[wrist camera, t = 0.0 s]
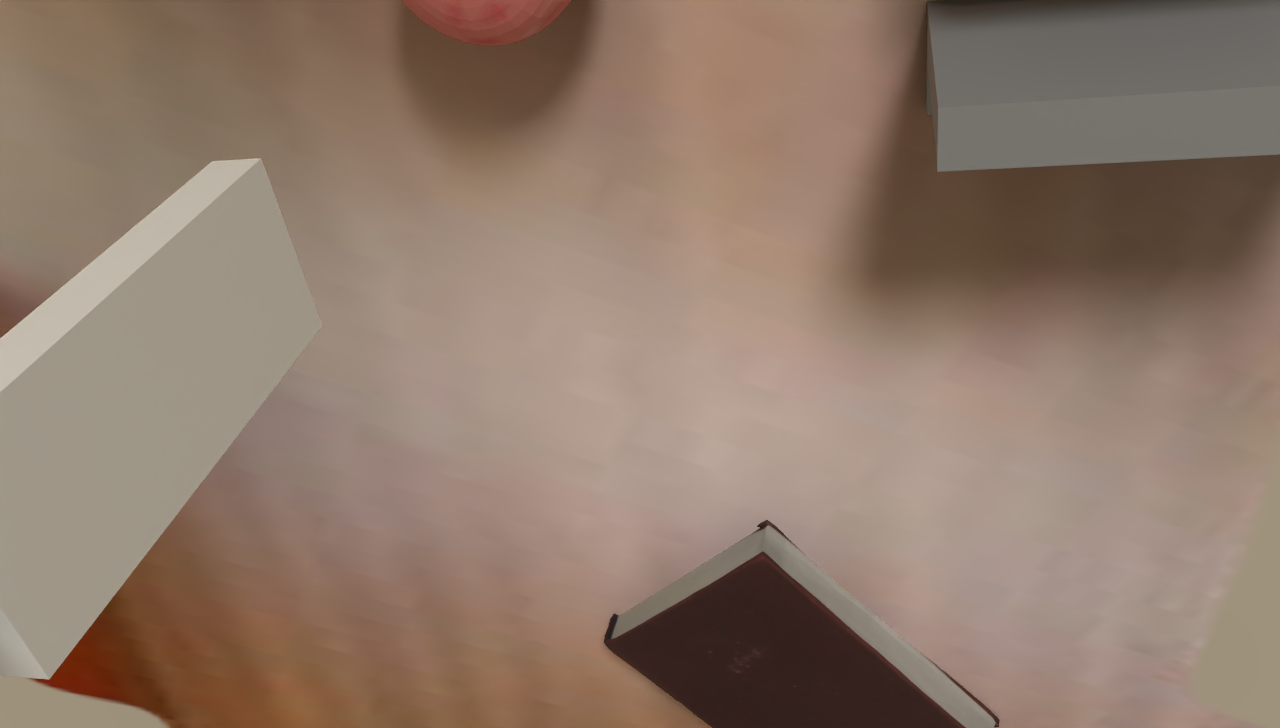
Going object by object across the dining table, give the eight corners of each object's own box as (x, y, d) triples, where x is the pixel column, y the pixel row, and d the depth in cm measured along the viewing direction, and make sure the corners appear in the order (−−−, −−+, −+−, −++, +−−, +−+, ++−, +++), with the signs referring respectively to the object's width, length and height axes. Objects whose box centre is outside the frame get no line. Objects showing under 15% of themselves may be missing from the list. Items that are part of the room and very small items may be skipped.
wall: (927, 2, 39) (937, 107, 31) (1398, -39, 35) (1550, 68, 27) (926, 107, 41) (936, 231, 33) (1370, 78, 37) (1501, 209, 29)
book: (832, 782, 67) (830, 830, 65) (609, 609, 62) (597, 654, 59) (1001, 712, 61) (1007, 763, 58) (768, 511, 55) (763, 557, 52)
